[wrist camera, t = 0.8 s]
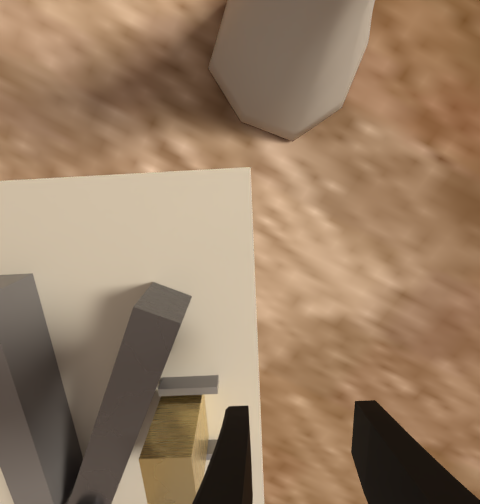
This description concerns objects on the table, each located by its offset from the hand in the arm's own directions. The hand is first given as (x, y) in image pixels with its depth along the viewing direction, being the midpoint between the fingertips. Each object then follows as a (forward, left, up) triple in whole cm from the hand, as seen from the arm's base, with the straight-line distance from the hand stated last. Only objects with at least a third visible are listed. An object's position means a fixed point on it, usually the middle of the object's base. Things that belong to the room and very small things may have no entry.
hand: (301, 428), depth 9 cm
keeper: (-7, +6, -8) cm, 12 cm away
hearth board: (-4, +11, -9) cm, 15 cm away
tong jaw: (-5, +9, -8) cm, 13 cm away
